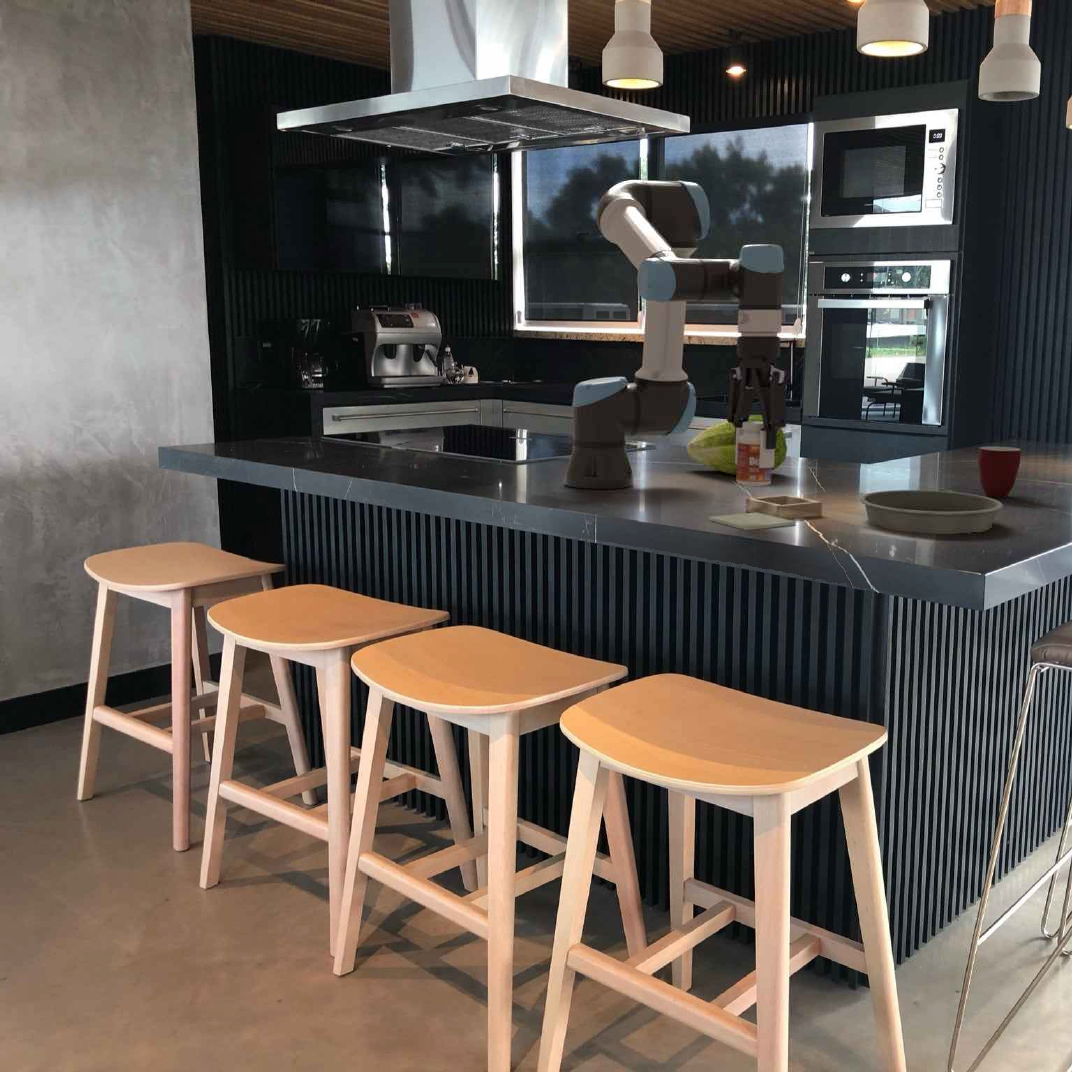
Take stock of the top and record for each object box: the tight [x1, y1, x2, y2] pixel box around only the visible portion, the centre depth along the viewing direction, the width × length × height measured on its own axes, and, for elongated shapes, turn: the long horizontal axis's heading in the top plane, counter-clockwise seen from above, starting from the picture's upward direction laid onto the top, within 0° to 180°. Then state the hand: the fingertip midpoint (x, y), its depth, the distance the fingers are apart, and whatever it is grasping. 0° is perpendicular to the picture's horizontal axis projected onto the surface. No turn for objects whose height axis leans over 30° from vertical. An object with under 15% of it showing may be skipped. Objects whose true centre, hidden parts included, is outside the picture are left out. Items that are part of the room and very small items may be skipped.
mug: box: [977, 446, 1022, 499], centre depth 239 cm, size 11×8×10 cm
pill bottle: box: [735, 422, 773, 487], centre depth 206 cm, size 6×6×11 cm
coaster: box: [708, 512, 796, 531], centre depth 209 cm, size 11×11×1 cm
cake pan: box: [859, 489, 1004, 535], centre depth 209 cm, size 25×25×4 cm
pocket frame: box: [745, 494, 823, 520], centre depth 218 cm, size 10×10×2 cm
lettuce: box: [686, 414, 788, 476], centre depth 272 cm, size 17×24×14 cm
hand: (754, 465), depth 207 cm, fingers closed on pill bottle, 6 cm apart
